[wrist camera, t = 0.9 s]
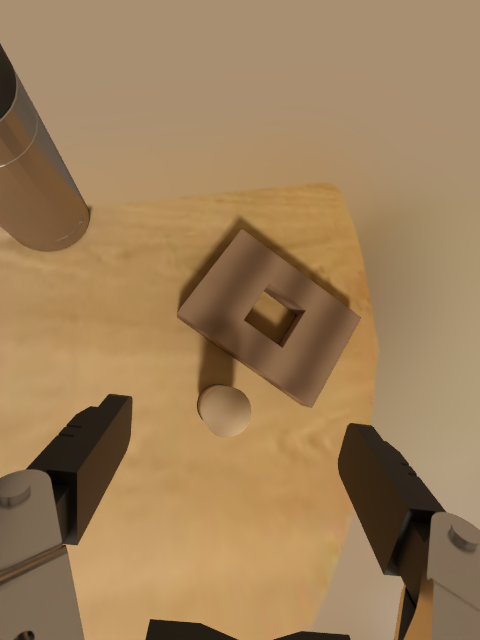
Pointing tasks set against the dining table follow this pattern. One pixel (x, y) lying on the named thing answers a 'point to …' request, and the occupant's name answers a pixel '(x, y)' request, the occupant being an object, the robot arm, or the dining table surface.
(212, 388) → the peg
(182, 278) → the dining table surface
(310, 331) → the board
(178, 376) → the dining table surface
